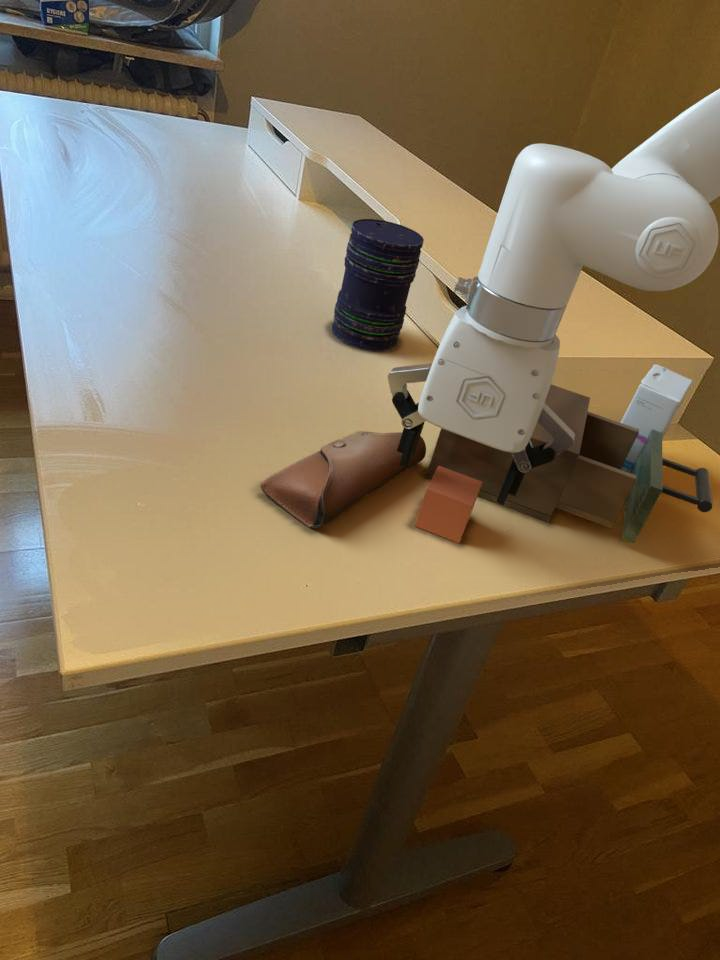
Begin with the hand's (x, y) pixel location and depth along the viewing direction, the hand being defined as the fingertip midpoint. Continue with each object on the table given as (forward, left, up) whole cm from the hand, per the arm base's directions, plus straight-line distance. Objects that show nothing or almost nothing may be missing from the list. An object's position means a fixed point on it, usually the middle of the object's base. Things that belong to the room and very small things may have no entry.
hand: (453, 478), depth 70 cm
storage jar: (+24, -34, -6) cm, 42 cm away
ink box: (-15, -27, -6) cm, 31 cm away
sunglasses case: (+11, 0, -5) cm, 12 cm away
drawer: (-14, -15, -4) cm, 21 cm away
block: (0, 0, -5) cm, 5 cm away
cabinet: (-2, -14, -5) cm, 15 cm away
